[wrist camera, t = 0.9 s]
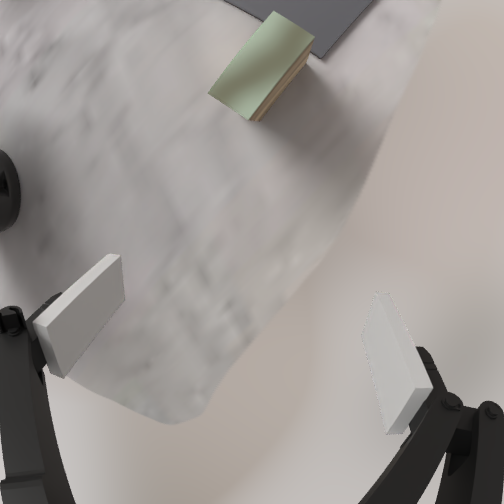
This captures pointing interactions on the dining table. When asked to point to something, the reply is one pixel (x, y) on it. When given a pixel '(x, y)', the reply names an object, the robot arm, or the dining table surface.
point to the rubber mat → (310, 16)
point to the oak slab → (263, 67)
